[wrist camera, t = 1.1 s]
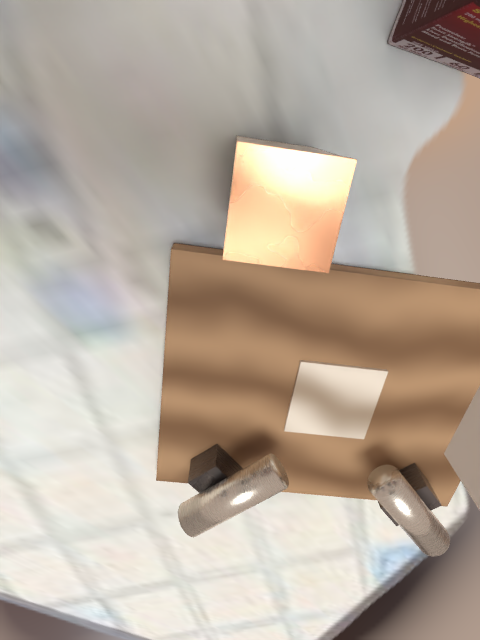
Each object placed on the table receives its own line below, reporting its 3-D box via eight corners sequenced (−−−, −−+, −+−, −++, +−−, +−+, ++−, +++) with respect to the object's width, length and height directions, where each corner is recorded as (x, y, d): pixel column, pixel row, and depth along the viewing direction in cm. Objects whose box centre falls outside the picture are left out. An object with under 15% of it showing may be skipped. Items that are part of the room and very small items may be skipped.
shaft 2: (346, 455, 36) (364, 507, 31) (391, 432, 35) (416, 482, 30) (393, 510, 39) (416, 565, 34) (435, 490, 38) (465, 544, 33)
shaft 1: (258, 418, 34) (263, 468, 29) (288, 449, 35) (296, 501, 30) (178, 466, 36) (169, 520, 31) (208, 493, 38) (205, 548, 33)
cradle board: (174, 243, 29) (170, 250, 27) (542, 291, 31) (559, 300, 29) (159, 467, 38) (155, 483, 37) (439, 493, 40) (448, 509, 39)
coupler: (236, 134, 26) (237, 141, 17) (314, 146, 26) (356, 159, 17) (226, 215, 28) (222, 259, 19) (298, 225, 28) (328, 273, 19)
